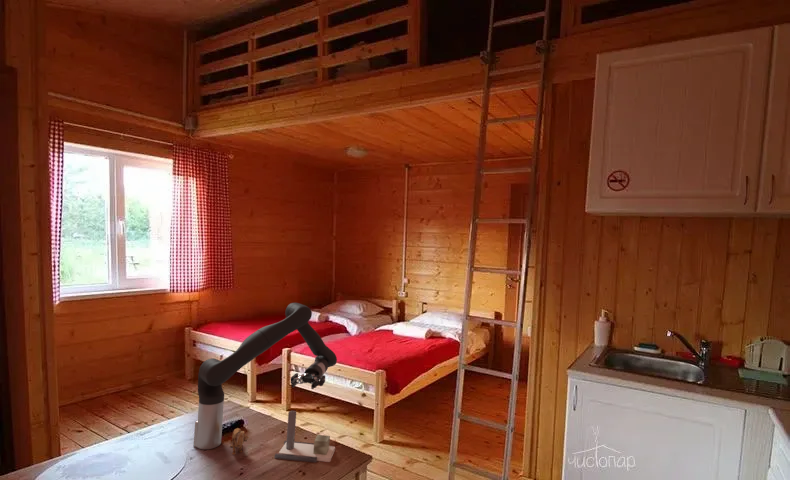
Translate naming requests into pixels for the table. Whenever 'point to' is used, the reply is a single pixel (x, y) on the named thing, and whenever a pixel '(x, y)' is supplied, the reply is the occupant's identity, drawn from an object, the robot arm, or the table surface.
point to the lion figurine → (238, 440)
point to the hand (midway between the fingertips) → (302, 386)
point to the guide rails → (296, 457)
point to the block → (321, 444)
